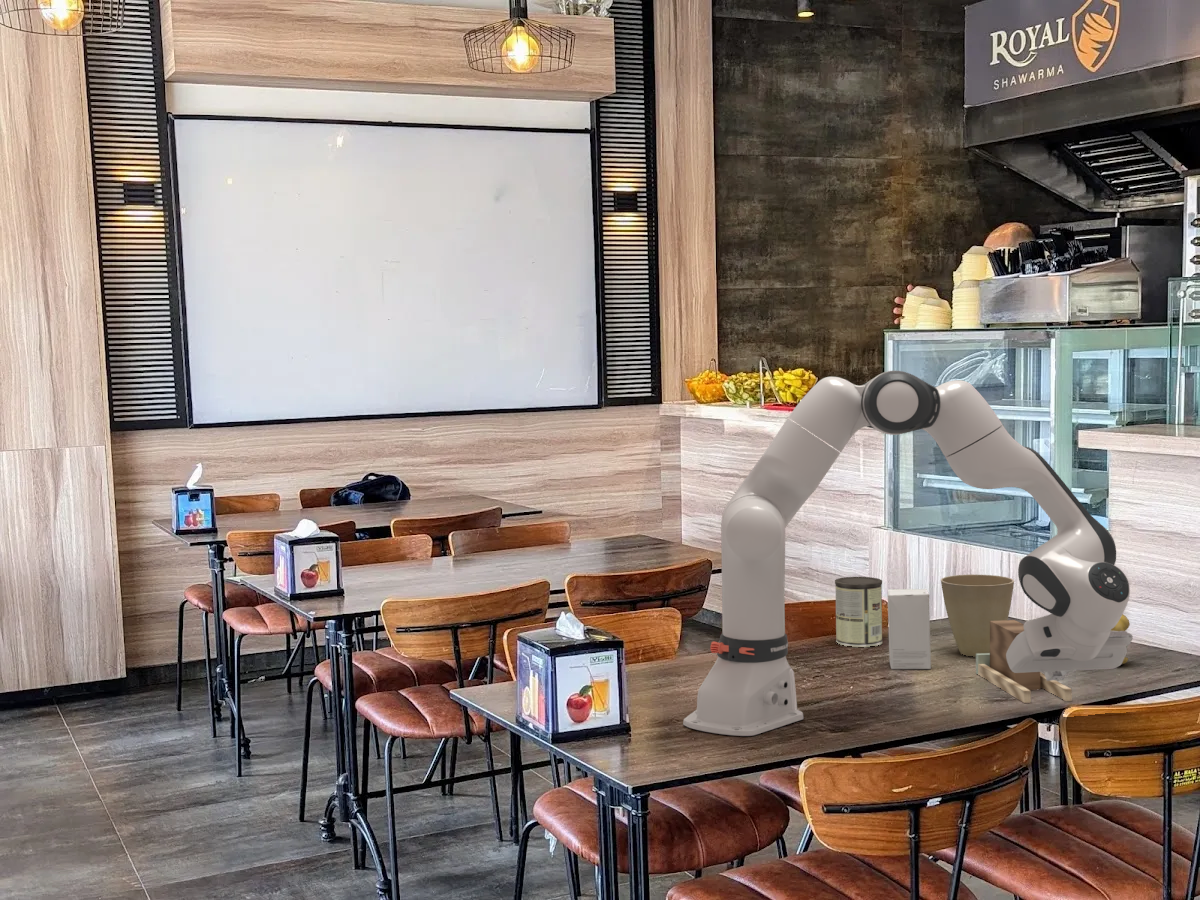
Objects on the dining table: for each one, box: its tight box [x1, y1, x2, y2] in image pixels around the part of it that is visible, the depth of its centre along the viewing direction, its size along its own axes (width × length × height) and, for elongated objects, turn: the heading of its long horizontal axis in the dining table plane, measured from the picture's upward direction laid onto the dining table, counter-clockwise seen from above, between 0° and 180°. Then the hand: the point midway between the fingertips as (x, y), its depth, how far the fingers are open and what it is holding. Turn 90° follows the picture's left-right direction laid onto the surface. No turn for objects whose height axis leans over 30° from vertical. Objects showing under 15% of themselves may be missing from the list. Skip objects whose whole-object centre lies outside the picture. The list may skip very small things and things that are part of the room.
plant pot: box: [940, 574, 1015, 658], centre depth 275 cm, size 15×15×16 cm
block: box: [990, 619, 1041, 691], centre depth 250 cm, size 12×5×11 cm, turn 5°
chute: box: [978, 664, 1073, 704], centre depth 246 cm, size 22×9×2 cm, turn 5°
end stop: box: [975, 653, 990, 675], centre depth 258 cm, size 1×9×4 cm, turn 95°
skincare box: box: [887, 588, 932, 670], centre depth 265 cm, size 8×7×16 cm
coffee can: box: [834, 576, 884, 648], centre depth 288 cm, size 10×10×14 cm
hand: (1053, 677), depth 233 cm, fingers closed
